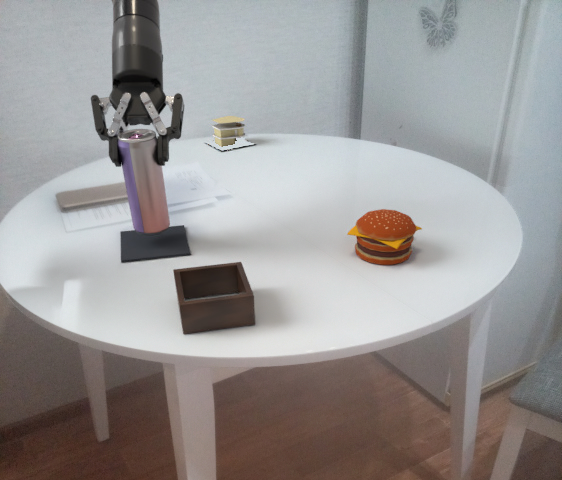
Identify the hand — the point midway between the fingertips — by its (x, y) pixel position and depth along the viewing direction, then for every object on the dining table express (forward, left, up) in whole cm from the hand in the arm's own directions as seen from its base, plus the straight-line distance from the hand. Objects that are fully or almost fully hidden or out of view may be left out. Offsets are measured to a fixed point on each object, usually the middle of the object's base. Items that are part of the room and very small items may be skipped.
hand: (139, 163), depth 84 cm
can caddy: (+7, -22, -14) cm, 27 cm away
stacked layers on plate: (+21, +52, -14) cm, 58 cm away
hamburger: (+36, -11, -14) cm, 40 cm away
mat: (0, +1, -14) cm, 14 cm away
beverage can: (0, +2, -11) cm, 12 cm away
